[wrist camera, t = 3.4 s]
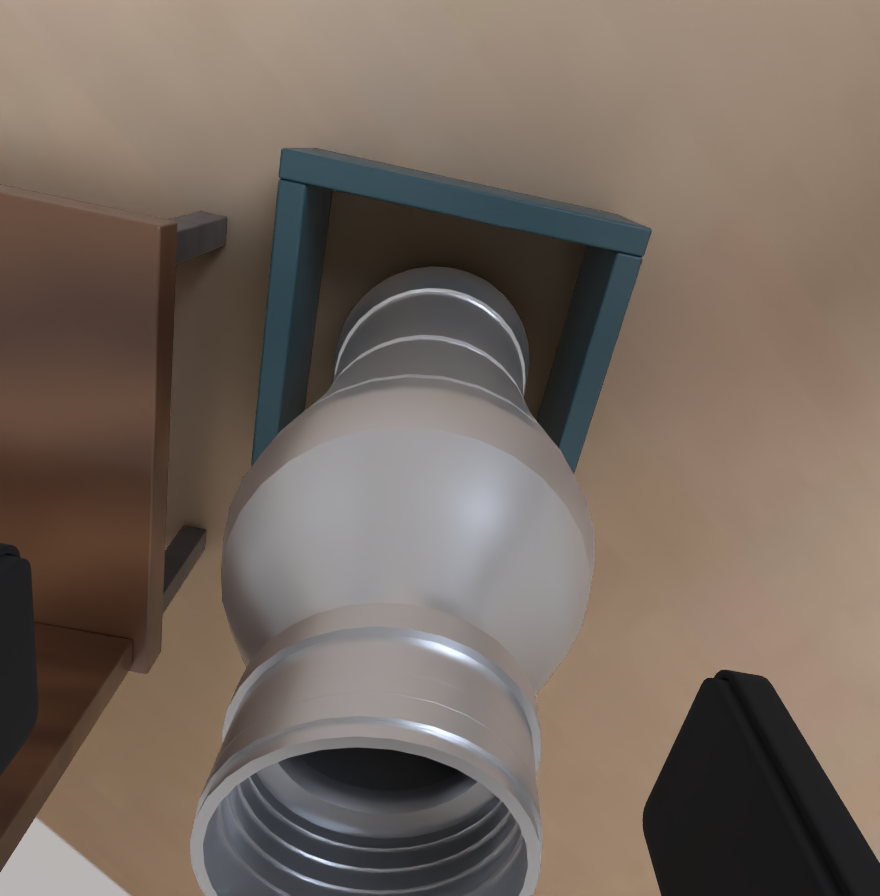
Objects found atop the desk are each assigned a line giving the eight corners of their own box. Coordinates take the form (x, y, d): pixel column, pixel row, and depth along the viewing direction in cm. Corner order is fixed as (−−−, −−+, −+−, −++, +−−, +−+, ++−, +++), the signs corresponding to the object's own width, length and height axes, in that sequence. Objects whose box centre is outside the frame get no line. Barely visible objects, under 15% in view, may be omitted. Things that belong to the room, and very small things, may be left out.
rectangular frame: (313, 147, 22) (280, 147, 18) (619, 214, 23) (653, 229, 19) (279, 454, 27) (246, 509, 23) (532, 504, 28) (545, 566, 24)
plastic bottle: (311, 349, 25) (-80, 867, 7) (435, 212, 23) (333, 449, 5) (434, 457, 27) (377, 1103, 9) (560, 340, 25) (833, 868, 7)
